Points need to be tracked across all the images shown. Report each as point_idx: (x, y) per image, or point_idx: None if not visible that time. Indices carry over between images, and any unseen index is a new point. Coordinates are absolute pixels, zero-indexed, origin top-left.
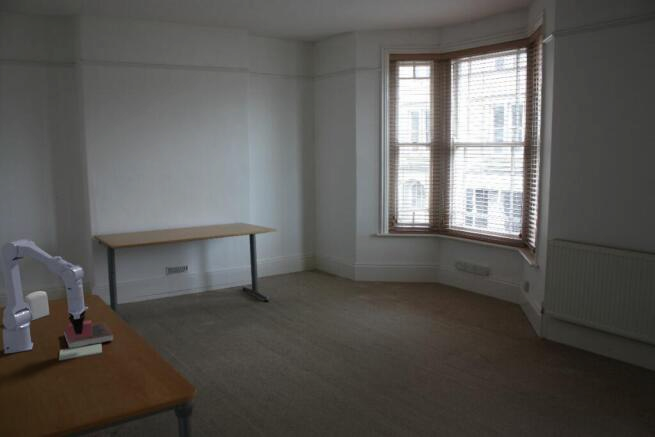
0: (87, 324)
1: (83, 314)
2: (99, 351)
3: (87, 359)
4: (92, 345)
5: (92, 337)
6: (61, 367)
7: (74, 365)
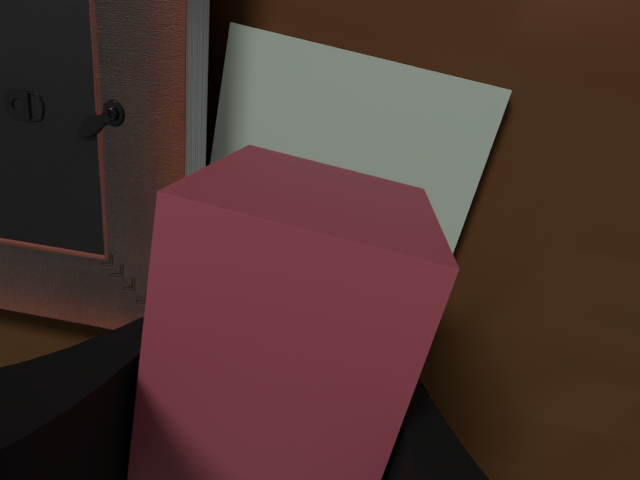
0: (429, 342)
1: (6, 464)
2: (482, 111)
3: (561, 251)
4: (238, 123)
5: (126, 98)
6: (565, 444)
7: (613, 369)
